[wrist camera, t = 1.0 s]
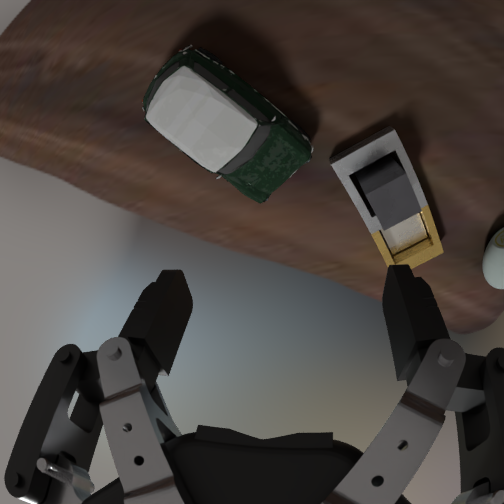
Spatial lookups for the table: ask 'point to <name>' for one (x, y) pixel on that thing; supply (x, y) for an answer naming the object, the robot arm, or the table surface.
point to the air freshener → (495, 261)
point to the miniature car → (224, 124)
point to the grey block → (388, 191)
